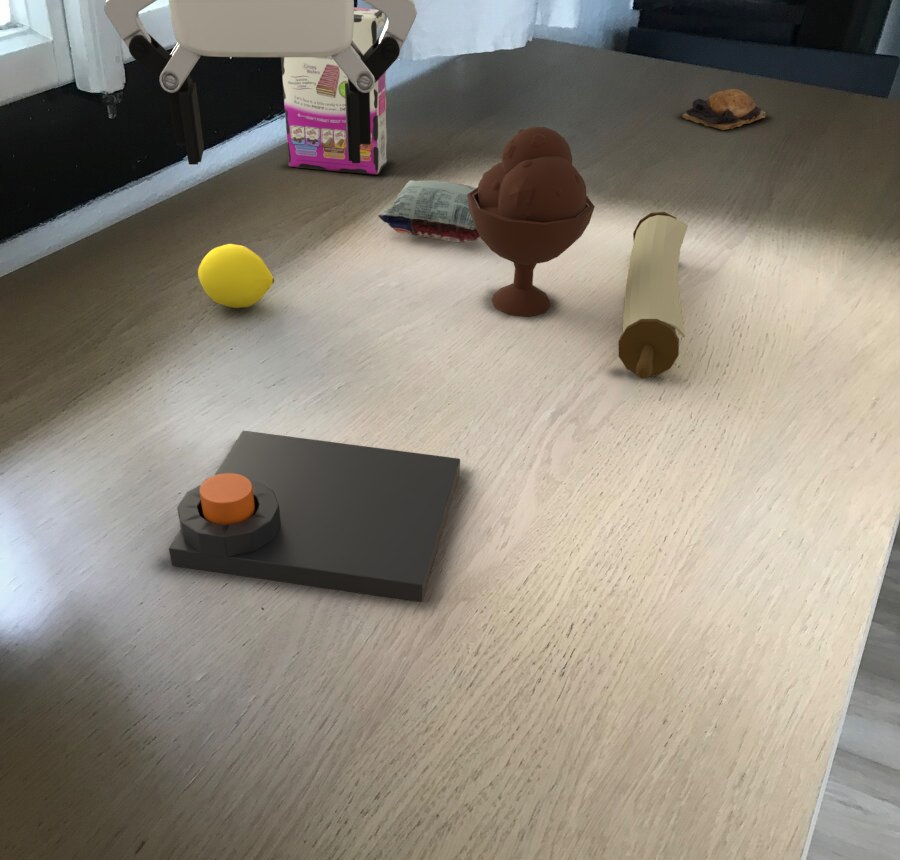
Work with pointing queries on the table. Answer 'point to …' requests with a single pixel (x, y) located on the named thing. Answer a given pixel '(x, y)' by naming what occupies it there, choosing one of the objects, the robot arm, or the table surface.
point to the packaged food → (433, 211)
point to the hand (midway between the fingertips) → (275, 156)
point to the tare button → (227, 498)
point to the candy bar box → (332, 107)
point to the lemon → (234, 276)
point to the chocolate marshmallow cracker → (725, 110)
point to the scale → (326, 516)
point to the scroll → (653, 297)
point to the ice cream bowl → (530, 212)
